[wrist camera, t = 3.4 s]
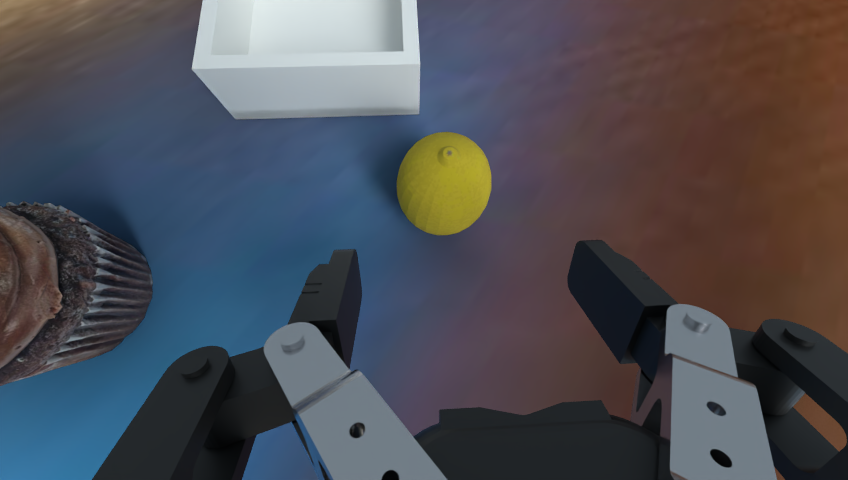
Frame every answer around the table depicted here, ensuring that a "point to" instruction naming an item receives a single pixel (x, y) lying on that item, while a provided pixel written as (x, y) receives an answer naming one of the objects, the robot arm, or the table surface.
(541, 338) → the table surface
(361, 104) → the white bin
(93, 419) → the table surface
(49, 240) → the cupcake
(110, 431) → the table surface
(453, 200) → the lemon
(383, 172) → the table surface
